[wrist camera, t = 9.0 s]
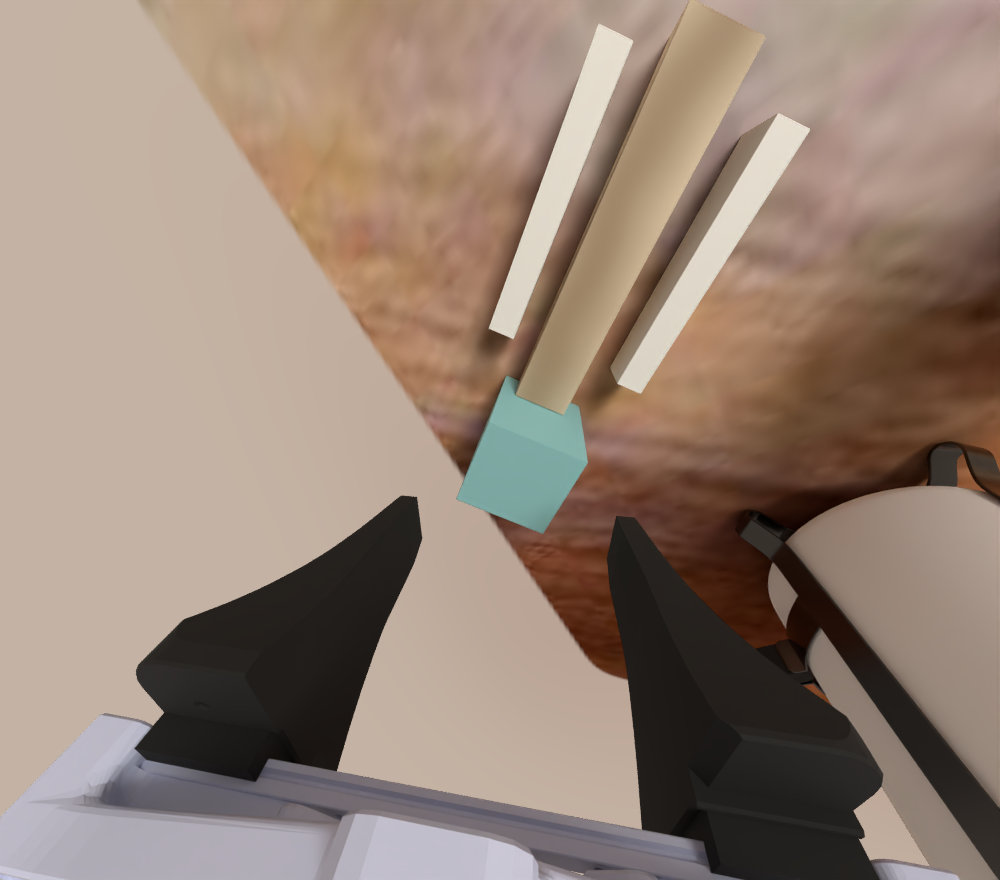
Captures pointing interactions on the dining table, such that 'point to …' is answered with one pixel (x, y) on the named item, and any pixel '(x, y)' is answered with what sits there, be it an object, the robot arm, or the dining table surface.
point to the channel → (702, 245)
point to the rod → (639, 195)
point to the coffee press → (906, 643)
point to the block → (525, 460)
